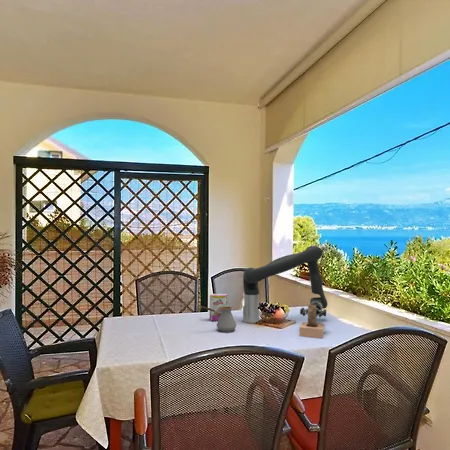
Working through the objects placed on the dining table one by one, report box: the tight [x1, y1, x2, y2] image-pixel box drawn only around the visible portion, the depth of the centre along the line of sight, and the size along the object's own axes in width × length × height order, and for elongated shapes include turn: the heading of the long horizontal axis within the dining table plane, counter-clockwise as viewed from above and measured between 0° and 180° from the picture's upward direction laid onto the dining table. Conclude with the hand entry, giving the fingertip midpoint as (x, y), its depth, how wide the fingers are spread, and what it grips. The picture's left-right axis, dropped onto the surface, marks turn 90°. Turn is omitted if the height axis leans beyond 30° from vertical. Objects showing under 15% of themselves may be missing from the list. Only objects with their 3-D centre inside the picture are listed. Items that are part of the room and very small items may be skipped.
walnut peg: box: [307, 304, 317, 327], centre depth 207 cm, size 4×4×15 cm
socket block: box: [298, 321, 325, 339], centre depth 207 cm, size 12×12×5 cm
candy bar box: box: [209, 293, 229, 322], centre depth 236 cm, size 11×5×16 cm, turn 84°
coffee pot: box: [199, 305, 237, 333], centre depth 214 cm, size 21×12×15 cm, turn 109°
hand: (311, 315), depth 206 cm, fingers open, 8 cm apart
